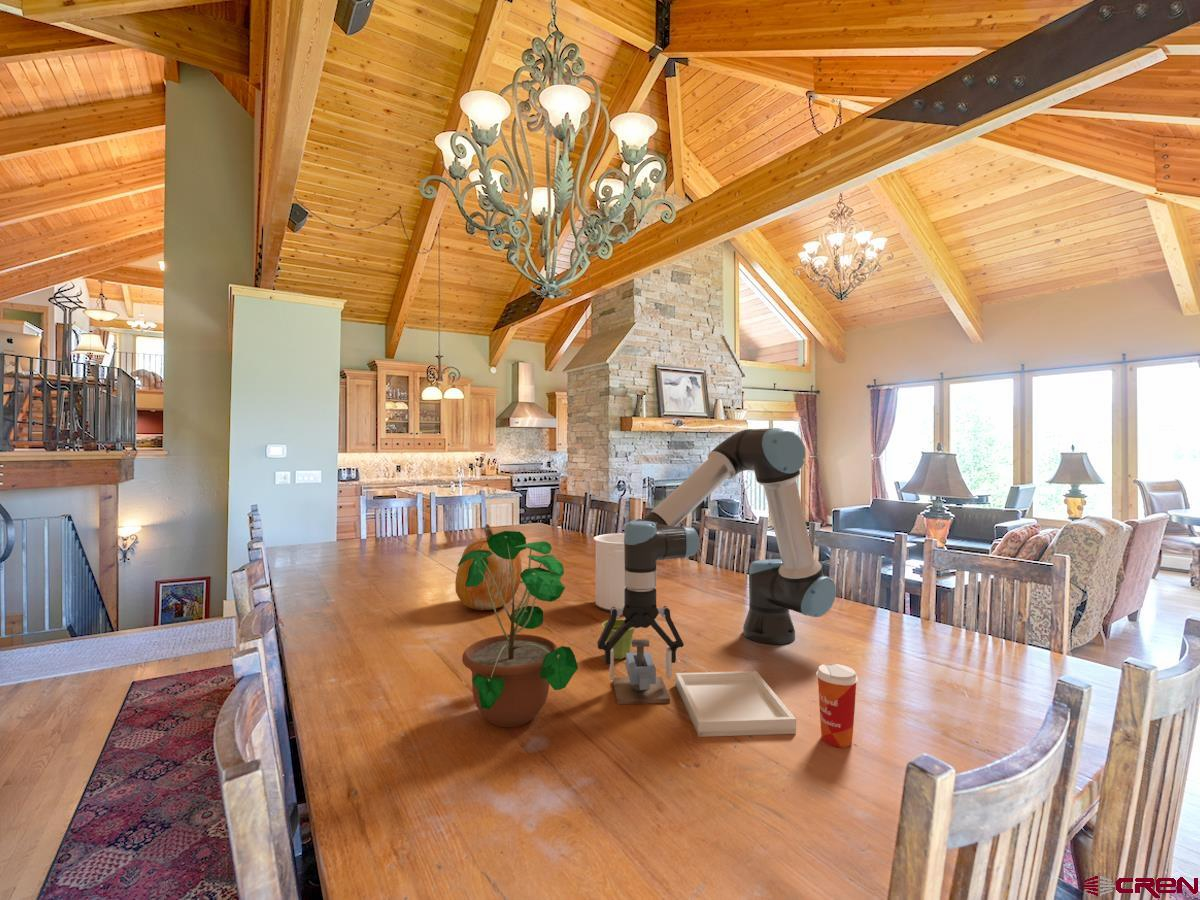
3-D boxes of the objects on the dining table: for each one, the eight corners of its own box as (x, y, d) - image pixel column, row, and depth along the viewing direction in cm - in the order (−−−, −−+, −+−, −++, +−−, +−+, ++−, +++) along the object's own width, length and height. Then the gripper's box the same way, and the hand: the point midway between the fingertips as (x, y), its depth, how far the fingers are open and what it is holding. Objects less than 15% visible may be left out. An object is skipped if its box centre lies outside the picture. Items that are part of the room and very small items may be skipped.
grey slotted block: (625, 666, 139) (625, 652, 139) (649, 666, 139) (649, 652, 139) (631, 689, 126) (631, 674, 126) (657, 689, 126) (657, 674, 126)
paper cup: (809, 731, 116) (809, 663, 115) (845, 729, 116) (845, 661, 116) (827, 752, 108) (828, 679, 108) (866, 750, 108) (866, 677, 108)
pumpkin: (515, 617, 191) (515, 529, 191) (449, 617, 191) (448, 528, 191) (527, 596, 217) (526, 518, 217) (468, 596, 217) (467, 518, 217)
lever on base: (661, 680, 140) (661, 631, 140) (670, 702, 128) (670, 649, 128) (613, 681, 140) (613, 632, 139) (617, 704, 128) (617, 650, 127)
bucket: (598, 594, 219) (598, 531, 219) (654, 596, 216) (654, 532, 216) (588, 614, 194) (588, 543, 193) (651, 617, 191) (651, 544, 190)
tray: (756, 683, 138) (756, 671, 138) (796, 733, 115) (796, 719, 114) (675, 685, 137) (675, 673, 137) (698, 736, 113) (698, 721, 113)
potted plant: (535, 767, 103) (534, 551, 102) (426, 725, 118) (425, 537, 117) (619, 701, 129) (619, 528, 128) (521, 674, 144) (521, 519, 143)
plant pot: (633, 663, 151) (633, 631, 151) (598, 660, 153) (598, 628, 153) (638, 650, 160) (638, 620, 160) (605, 648, 162) (605, 618, 162)
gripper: (689, 582, 138) (689, 669, 138) (586, 584, 137) (587, 671, 137) (696, 590, 130) (696, 682, 131) (588, 592, 129) (588, 684, 129)
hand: (640, 677), depth 134 cm, fingers open, 13 cm apart
